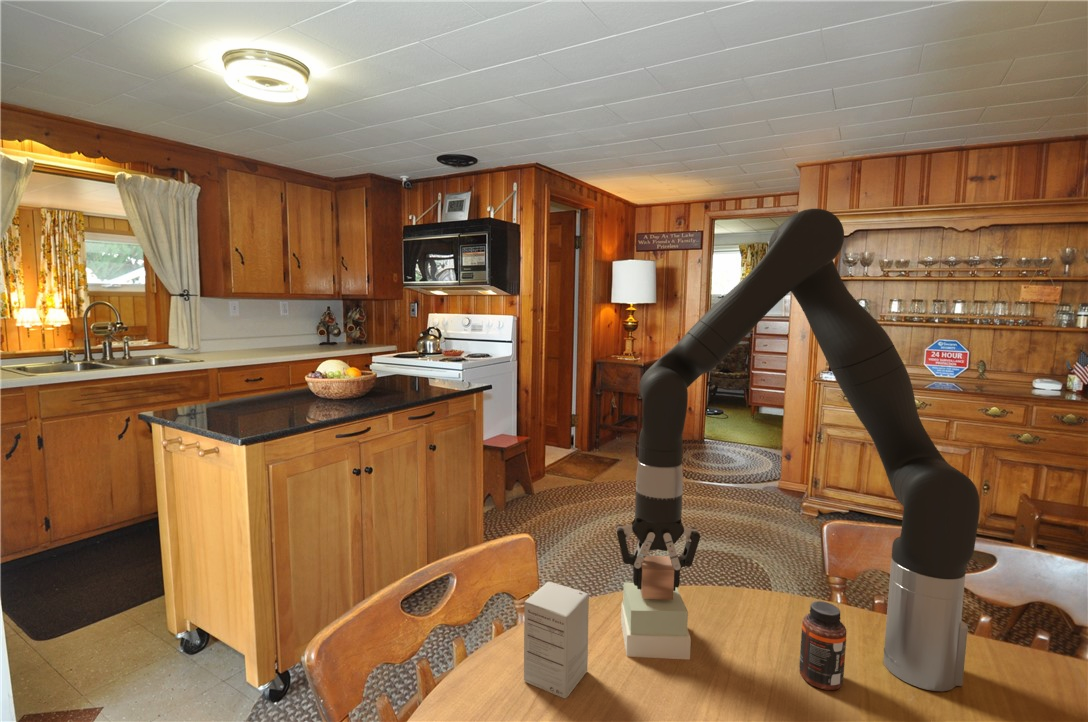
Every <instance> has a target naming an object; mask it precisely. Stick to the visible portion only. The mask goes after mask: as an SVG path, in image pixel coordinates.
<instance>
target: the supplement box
mask: <svg viewBox="0 0 1088 722" xmlns="http://www.w3.org/2000/svg"><path fill="white" fill-rule="evenodd" d="M589 596H590V594H589V593H587V592H585V591H582V590H579V589H576V588H572V587H568V586H566V585H561V584H559V583H555V582H552V581H547V582H546V583H545V584H544V585H542V586H541V587H540V588H539V589H537V591H535V592H534V593H533V594H532V595H530V596H529V597H528V598H527V599H526V600H524V610H523V611H524V614H523V615H524V620H523V621H524V622H523V623H524V625H523V626H524V628H523V629H524V630H523V635H524V636H523V681H524V682H525V683H527V684H529V685H531V686H534V687H537V688H538V689H541V690H544V691H545V692H547V693H551V694H552V695H555V696H557V697H559V698H563V699H568V697H569V695H570V694H571V693H572V692H573V691H574V689H575V688H576V687H577V686H578V683H580V682H581V680H582V679H583V677H584V676H585V675H586V673H587V672H588V670H589V669H588V662H589V661H588V660H589V658H588V656H589V655H588V654H589V649H588V648H589V609H590V607H589V606H590V603H589V602H590V600H589V599H590V597H589Z"/></svg>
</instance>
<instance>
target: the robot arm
mask: <svg viewBox="0 0 1088 722" xmlns="http://www.w3.org/2000/svg"><path fill="white" fill-rule="evenodd" d="M844 240H845V229H844V227H843V224H842V222H841V220H840V219H839V217H837V215H835V214H834V213H832V212H831V211H829V210H826V209H822V208H808V209H804V210H800V211H798V212H795V213H794V214H792V215H791V216H789V217H788V218H787V219H785V220H784V221H783V222H782V223H781V224H780V225H779V226H778V227H777V228H776V229H775V230H774V231H773V232H772V234H771V236H770V239H769V242H768V250H767V252H766V253H764V255H763V257H762V259H760V260H759V262H758V263H756V265H755V266H754V268H752V270H751V271H750V272H749V273H748V274H747V275H746V276H745V277H744V278H743V279H742V280H741V281H740V282H738V283H737V284H736V285H735V286H734V287H733V288H732V289H731V290H730V291H729V292H728V293H726V294H725V295H724V296H723V297H722V298H721V299H720V300H719V301H717V302H716V304H714V305H713V306H712V307H711V308H710V309H708V310H707V311H706V313H704V314H703V316H701V318H700V319H698V321H696V323H694V325H693V326H692V327H691V328H689V330H688V331H687V332H686V333H685V334H684V335H683V337H682V338H681V339H680V340H679V342H677V344H675V345H674V346H673V347H672V348H671V349H669V350H668V351H667V352H665V353H664V355H662V356H661V357H660V358H658V360H656V361H655V362H654V363H653V364H652V365H651V366H650V367H649V368H648V369H647V370H646V371H645V372H644V374H643V375H642V376H641V378H640V381H639V385H638V392H639V395H640V397H641V399H642V426H641V427H642V428H641V430H640V433H639V436H638V437H639V438H638V459H637V460H638V461H637V467H636V468H637V469H636V475H635V501H634V502H635V505H634V517H633V520H632V522H631V524H628V525H627V524H626V525H622V524H621V523H619V524H617V525H616V526H615V529H616V530H615V531H616V535H617V539H618V543H619V549H620V552H621V553H620V554H621V557H622V560H623V561H622V562H623V564H624V565H630V566H632V583H634V585H635V586H637V589H641V584H642V567H641V566H642V563H643V561H644V558H645V557H646V556H648V553H649V551H657V550H659V551H663V552H667V553H668V557H670V560H671V563H672V566H673V568H674V591H675V589H676V587H677V588H679V587H680V584H681V583H680V578H681V569H682V568H684V567H687V568H690V567H692V565H693V563H694V558H695V555H696V552H697V548H698V546H699V542H700V539H701V534H700V532H699V530H698V529H697V527H694V526H692V527H687V526H684V524H683V522H682V510H683V508H682V507H683V491H684V474H683V473H684V472H683V447H684V446H683V443H684V442H683V433H684V429H685V423H686V417H687V411H688V404H689V403H688V402H689V401H688V399H689V398H688V397H689V394H688V388H689V387H690V386H691V385H692V384H693V383H694V382H695V381H696V380H697V379H698V378H700V376H702V375H704V374H707V373H710V372H712V371H713V370H714V369H715V368H716V367H717V366H719V365H720V363H722V361H724V359H726V357H728V355H729V354H730V353H731V352H733V350H735V348H736V347H737V346H738V345H739V344H740V343H741V341H743V340H744V339H745V337H746V336H748V334H749V333H750V332H751V331H752V330H753V329H754V328H755V327H756V326H757V325H758V323H760V322H761V320H763V318H764V317H765V316H766V315H767V314H768V313H769V312H770V311H771V310H772V309H773V308H774V307H775V306H777V304H778V303H779V302H781V300H783V298H785V297H786V296H787V295H789V293H790V292H791V294H792V295H793V297H794V298H795V299H796V301H797V303H798V305H799V306H800V308H801V309H802V312H803V313H804V316H805V318H806V320H807V322H808V325H809V326H810V329H811V331H812V334H813V335H814V338H815V340H816V342H817V344H818V346H819V348H820V350H821V352H822V354H823V356H824V357H825V360H826V362H827V364H828V367H829V368H830V370H831V372H832V375H833V377H834V378H835V381H836V382H837V384H838V386H839V388H840V390H841V391H842V393H843V395H844V397H845V398H846V400H847V402H848V404H849V405H850V407H851V408H852V410H853V411H854V413H855V415H856V417H858V420H859V421H860V423H861V424H862V426H863V427H864V428H865V429H866V431H867V433H868V434H869V436H870V438H871V440H872V442H873V444H874V446H875V448H876V450H877V453H878V456H879V458H880V461H881V463H882V466H883V468H884V471H885V474H886V477H887V479H888V482H889V484H890V487H891V490H892V492H893V495H894V496H895V498H896V499H897V501H898V503H899V504H900V505H902V508H903V509H902V510H903V514H902V521H901V530H900V536H897V537H896V538H895V539H894V540H893V541H892V546H891V557H890V559H891V561H890V569H889V570H890V571H889V585H888V586H889V587H888V594H887V595H888V597H887V598H888V599H887V607H886V608H887V611H886V621H885V623H886V624H885V634H884V647H883V664H884V666H885V667H886V669H887V670H888V671H889V672H890V673H891V674H892V675H893V676H895V677H896V678H898V679H900V680H901V681H903V682H905V683H907V684H909V685H911V686H914V687H917V688H920V689H923V690H927V691H933V692H946V691H951V690H953V689H954V688H955V687H963V684H964V673H965V664H966V663H965V662H966V653H967V641H968V632H969V631H968V630H969V627H968V625H967V623H966V622H964V621H963V620H962V616H963V605H964V603H963V602H964V596H965V595H964V593H965V592H964V591H965V583H966V582H965V581H966V573H967V566H968V564H969V563H970V561H971V560H972V558H973V556H974V552H975V549H976V548H975V546H976V539H977V533H978V527H979V526H978V525H979V519H980V507H981V504H980V502H981V501H980V495H979V491H978V489H977V486H976V485H975V483H974V482H973V481H972V480H971V478H970V477H968V476H967V475H966V474H964V473H963V472H962V471H960V470H959V469H958V468H955V467H953V466H952V465H951V464H950V463H948V461H946V459H945V458H944V457H943V455H942V454H941V452H940V451H939V450H938V448H937V446H936V445H935V444H934V442H933V440H932V439H931V438H930V435H929V434H928V432H927V431H926V429H925V427H924V425H923V423H922V421H921V417H920V416H919V413H918V408H917V407H918V406H917V402H916V399H915V392H914V389H913V384H912V381H911V378H910V375H909V373H908V370H907V368H906V365H905V364H904V362H903V360H902V358H901V356H900V354H899V352H898V350H897V348H896V347H895V344H894V342H893V341H892V339H891V337H890V336H889V335H888V333H887V331H886V330H885V329H884V328H883V327H882V325H880V323H879V322H878V321H877V320H876V319H875V318H874V316H872V314H871V313H870V312H868V311H867V309H865V307H864V306H863V305H861V303H860V302H859V301H857V299H855V297H854V296H853V295H852V293H850V291H849V289H848V288H847V287H846V285H845V283H844V281H843V279H842V277H841V276H840V272H839V271H838V268H837V267H836V264H835V261H834V260H835V259H836V257H837V256H838V255H839V253H840V252H841V250H842V247H843V245H844V242H845V241H844ZM632 533H633V535H635V537H636V538H637V539H638V542H637V544H636V548H635V550H634V554H632V553H630V551H629V547H628V543H627V540H630V539H631V534H632ZM682 536H683V537H684V540H685V545H684V547H683V551H682V554H681V555H680V556H678V554H677V550H676V547H675V544H676V543H677V542H678V540H680V538H681V537H682Z"/></svg>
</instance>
